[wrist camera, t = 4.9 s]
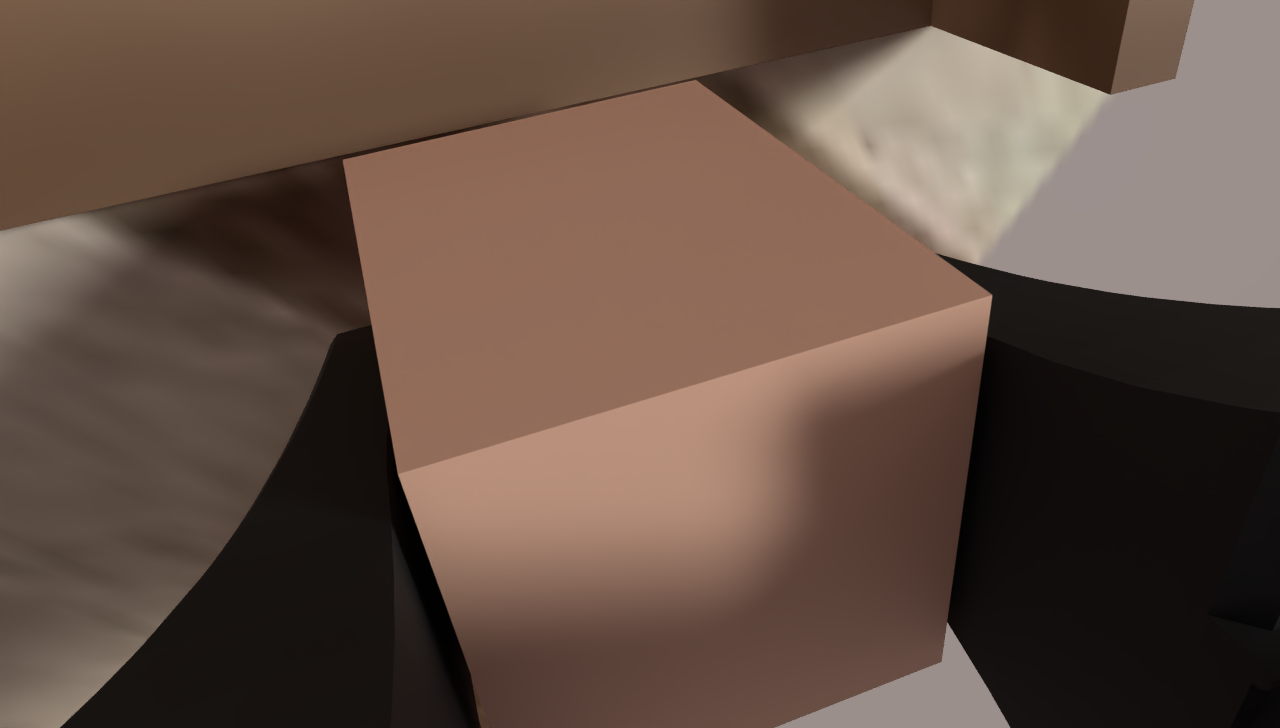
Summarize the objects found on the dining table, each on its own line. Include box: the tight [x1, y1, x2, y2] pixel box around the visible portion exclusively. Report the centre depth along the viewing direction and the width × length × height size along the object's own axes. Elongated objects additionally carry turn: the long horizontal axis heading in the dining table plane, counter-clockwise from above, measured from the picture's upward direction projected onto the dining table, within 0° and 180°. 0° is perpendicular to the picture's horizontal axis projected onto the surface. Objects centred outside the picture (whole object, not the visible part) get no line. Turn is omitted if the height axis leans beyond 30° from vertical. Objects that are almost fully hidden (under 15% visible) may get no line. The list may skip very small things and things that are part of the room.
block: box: [343, 80, 992, 728], centre depth 10 cm, size 4×4×6 cm
